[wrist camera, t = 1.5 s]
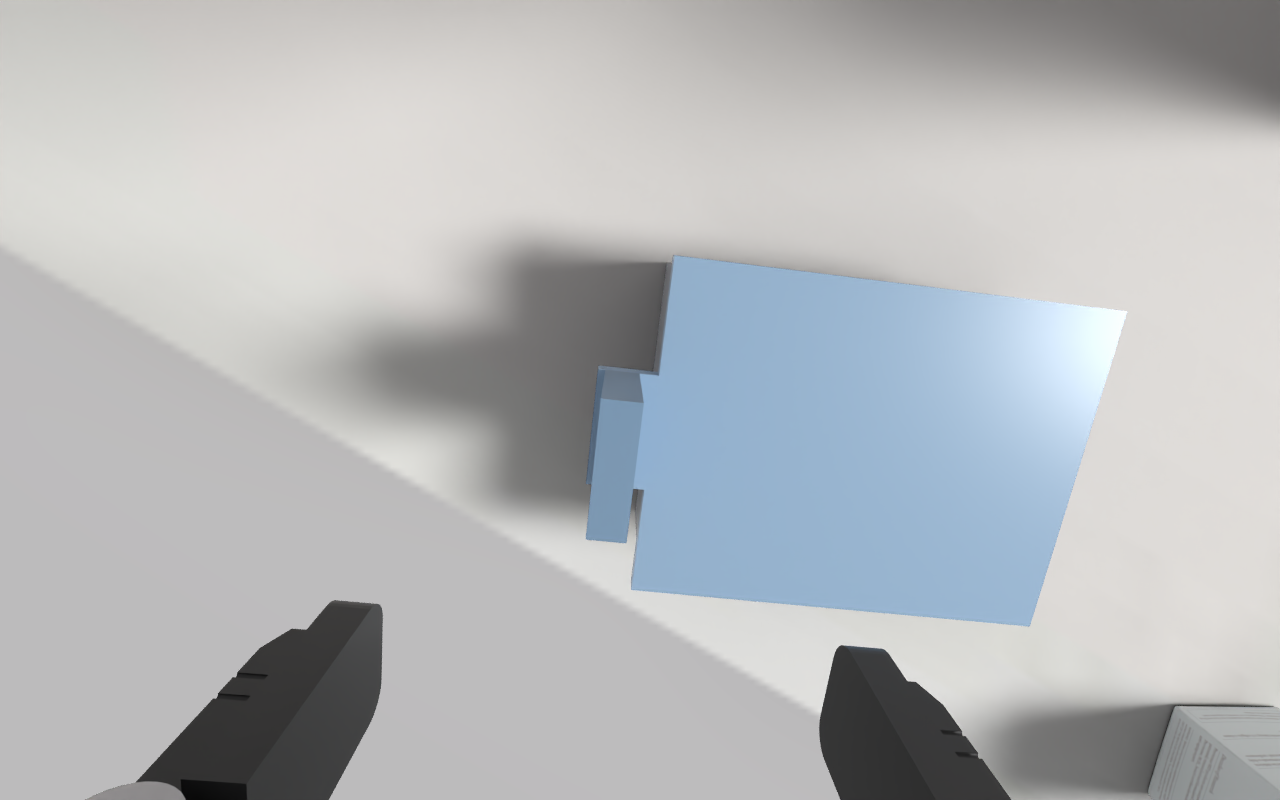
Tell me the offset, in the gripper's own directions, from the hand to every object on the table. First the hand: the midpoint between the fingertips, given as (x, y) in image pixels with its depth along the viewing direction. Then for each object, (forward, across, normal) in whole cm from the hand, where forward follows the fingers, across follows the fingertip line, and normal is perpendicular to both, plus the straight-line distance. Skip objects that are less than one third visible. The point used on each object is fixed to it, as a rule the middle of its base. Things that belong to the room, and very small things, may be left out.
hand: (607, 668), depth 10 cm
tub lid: (+16, -10, 0) cm, 19 cm away
